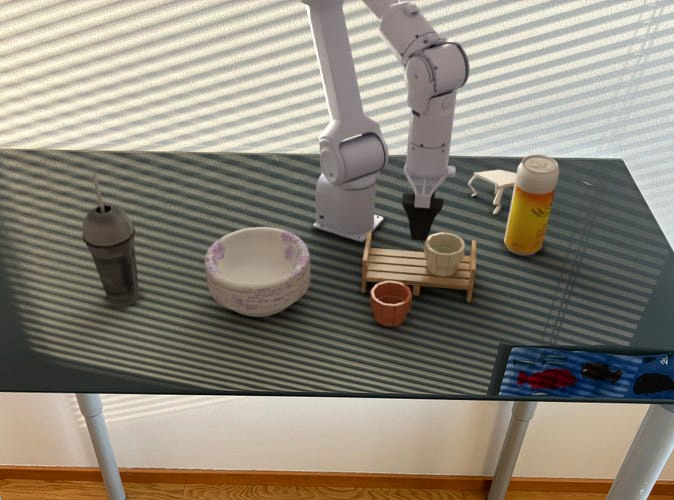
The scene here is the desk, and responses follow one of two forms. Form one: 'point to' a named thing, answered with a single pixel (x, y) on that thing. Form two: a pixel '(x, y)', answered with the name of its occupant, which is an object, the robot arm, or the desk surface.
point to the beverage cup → (112, 250)
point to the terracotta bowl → (390, 302)
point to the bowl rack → (414, 269)
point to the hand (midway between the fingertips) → (420, 224)
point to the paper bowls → (258, 270)
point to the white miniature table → (495, 183)
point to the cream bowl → (443, 253)
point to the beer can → (531, 204)
